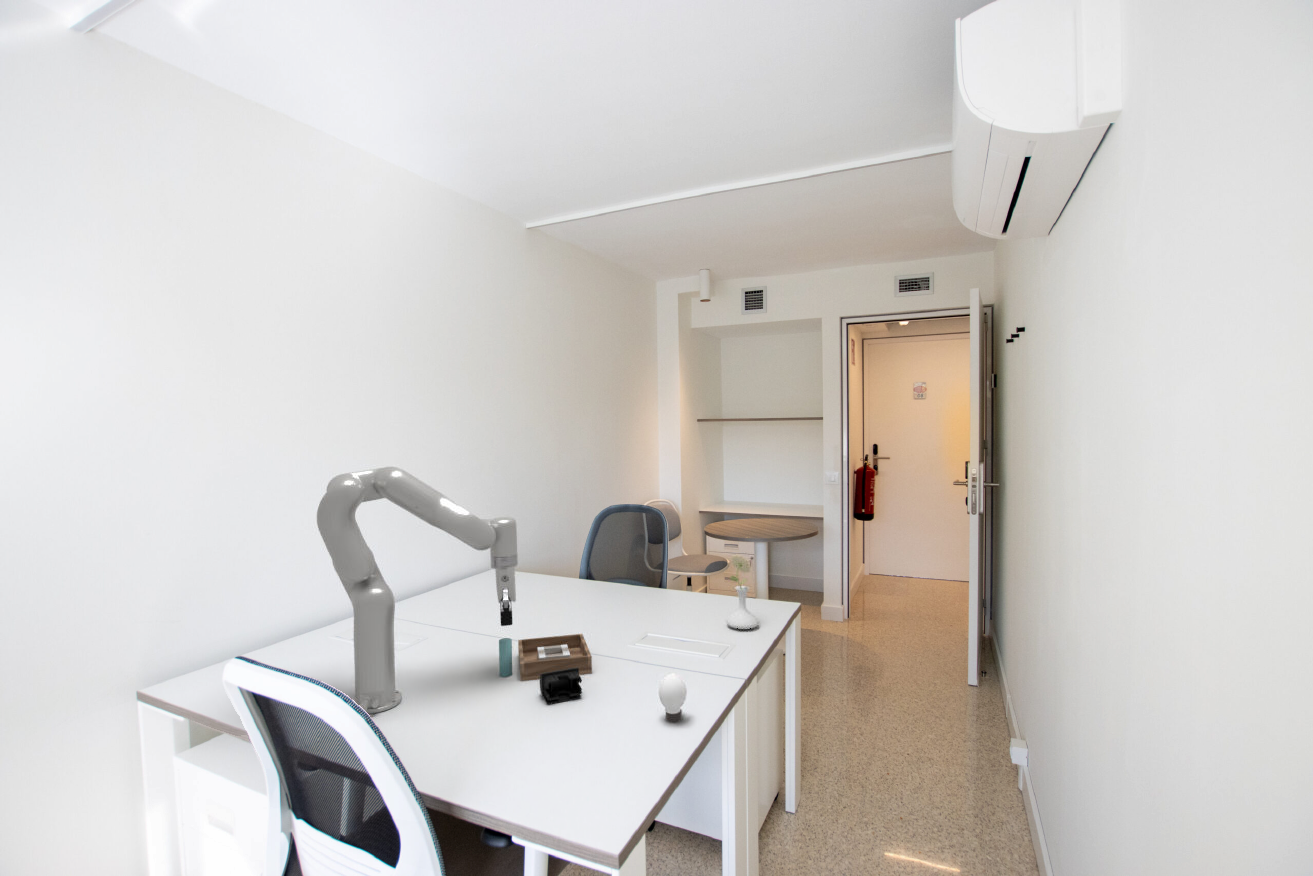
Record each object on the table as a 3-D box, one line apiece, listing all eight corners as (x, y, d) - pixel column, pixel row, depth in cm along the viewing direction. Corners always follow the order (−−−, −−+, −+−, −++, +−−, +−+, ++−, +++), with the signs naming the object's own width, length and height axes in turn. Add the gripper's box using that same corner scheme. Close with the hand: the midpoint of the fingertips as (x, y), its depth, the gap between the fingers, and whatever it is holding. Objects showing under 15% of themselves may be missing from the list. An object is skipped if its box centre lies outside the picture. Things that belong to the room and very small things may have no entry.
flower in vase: (765, 629, 217) (764, 557, 216) (736, 634, 213) (735, 560, 212) (746, 618, 229) (745, 550, 228) (718, 622, 225) (717, 553, 224)
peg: (512, 676, 179) (511, 641, 179) (499, 677, 178) (498, 643, 178) (512, 671, 183) (511, 637, 182) (499, 673, 182) (498, 638, 182)
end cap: (576, 688, 171) (575, 663, 171) (583, 699, 164) (583, 673, 164) (539, 695, 167) (539, 670, 167) (545, 706, 160) (545, 680, 160)
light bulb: (692, 718, 153) (691, 673, 152) (674, 728, 148) (674, 682, 147) (671, 710, 157) (670, 666, 157) (653, 719, 152) (652, 674, 152)
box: (591, 673, 181) (591, 656, 180) (520, 681, 176) (520, 663, 176) (582, 649, 200) (582, 633, 200) (518, 655, 195) (518, 639, 195)
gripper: (518, 566, 172) (520, 628, 173) (516, 553, 189) (518, 609, 190) (490, 569, 170) (492, 631, 171) (491, 555, 187) (493, 612, 188)
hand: (506, 619), depth 180 cm, fingers open, 9 cm apart
